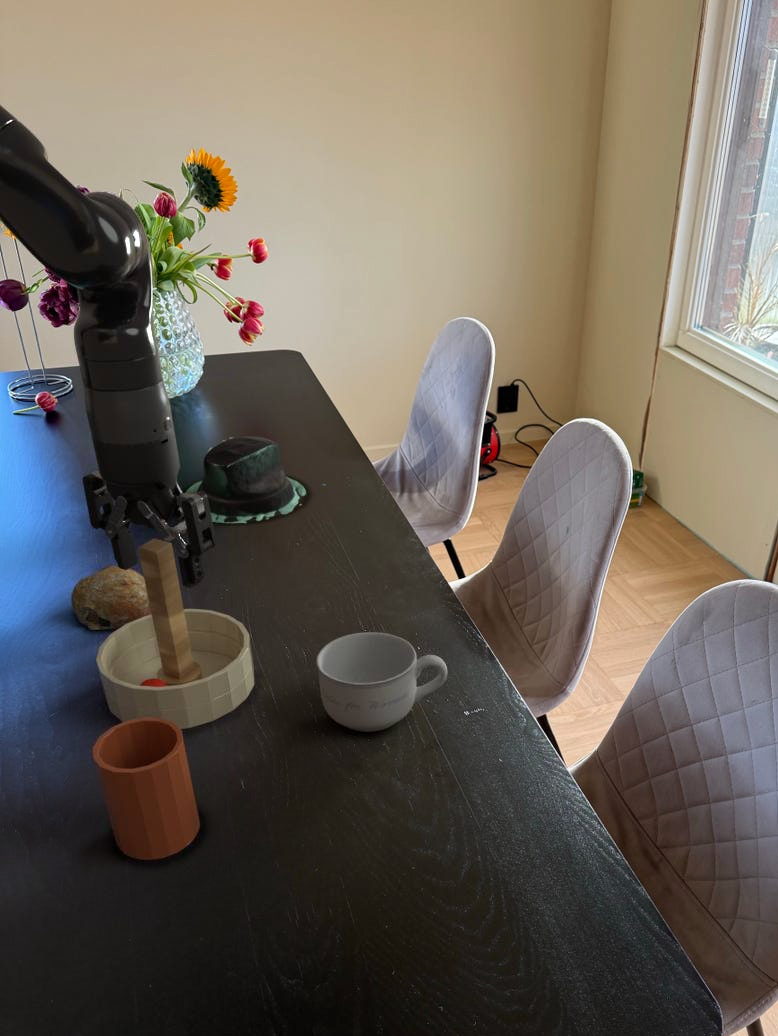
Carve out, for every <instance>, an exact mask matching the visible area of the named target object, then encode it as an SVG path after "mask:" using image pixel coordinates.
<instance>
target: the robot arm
mask: <svg viewBox="0 0 778 1036" xmlns="http://www.w3.org/2000/svg"><path fill="white" fill-rule="evenodd" d="M48 155H49V154H48V152H47V150H46V147H45V145H44V144H43V142H42V141H41V140H40V139H39V138H38V137H37V136H36V135H35V134H34V133H33V132H32V131H31V130H30V129H29V128H28V127H27V126H26V125H25V124H24V123H22V122H21V121H20V120H19V119H17V118H16V116H14V115H13V114H12V113H10V112H9V111H8V110H7V109H6V108H5V107H4V106H2V105H1V104H0V222H1V223H2V224H3V225H4V226H5V228H6V229H7V230H8V231H9V232H10V233H11V234H12V235H13V236H14V237H15V239H17V241H19V243H20V244H21V245H22V246H23V247H24V248H25V249H26V250H27V251H28V252H29V253H30V254H31V255H32V256H33V257H34V258H35V259H36V260H37V261H38V262H39V263H40V264H41V265H42V266H43V267H44V268H46V269H47V270H48V271H49V272H51V273H52V274H53V275H55V276H56V277H57V278H59V279H61V280H62V281H63V282H66V283H68V284H69V285H71V286H73V287H75V288H76V291H77V298H78V306H79V307H78V315H77V318H76V320H75V323H74V327H73V341H74V342H73V343H74V347H75V353H76V357H77V361H78V365H79V370H80V375H81V380H82V385H83V392H84V394H83V395H84V405H85V407H84V408H85V413H86V417H87V422H88V426H89V432H90V436H91V440H92V444H93V450H94V455H95V458H96V463H97V468H98V469H97V470H95V471H93V472H91V473H89V474H86V475H83V477H82V484H83V491H84V496H85V501H86V506H87V513H88V517H89V523H90V525H91V527H92V528H93V529H94V530H99V529H101V530H102V531H104V534H105V535H106V537H108V539H110V544H111V548H112V552H113V557H114V559H115V562H116V563H117V566H118V567H119V568H120V569H124V570H128V569H132V568H133V567H135V566H136V565H137V564H138V562H139V558H138V554H137V549H136V543H135V539H134V534H133V531H130V529H131V528H132V525H136V526H145V527H146V528H148V529H149V530H150V529H151V530H154V531H157V533H158V535H160V537H161V538H162V539H163V541H165V542H169V543H171V544H172V548H174V549H175V551H176V552H177V553H178V555H179V556H178V555H177V559H178V560H177V561H178V567H179V571H180V577H181V583H182V586H183V587H184V588H187V589H193V588H194V587H195V586H197V585H198V584H200V583H201V582H202V580H203V579H204V578H205V577H204V576H205V573H204V567H203V566H204V565H203V559H202V555H203V554H205V553H206V552H208V551H209V550H210V549H213V548H214V547H216V546H217V538H216V533H215V528H214V523H213V522H212V517H211V512H210V507H209V502H208V497H207V495H206V494H205V493H204V492H202V491H200V492H198V493H196V494H194V495H192V494H186V493H185V492H183V491H182V489H181V487H180V486H179V483H178V475H179V471H180V469H181V463H180V456H179V450H178V444H177V438H176V433H175V427H174V421H173V413H172V408H171V407H172V406H171V402H170V398H169V394H168V391H167V389H166V385H165V382H164V376H163V370H162V364H161V358H160V352H159V347H158V341H157V337H156V333H155V328H154V292H153V291H154V289H153V267H152V256H151V255H152V254H151V249H150V244H149V238H148V234H147V232H146V228H145V226H144V224H143V222H142V219H141V218H140V216H139V215H138V213H137V212H136V210H135V209H134V207H132V206H131V205H130V204H129V202H127V201H125V200H124V199H122V198H121V197H119V196H118V195H116V194H114V193H110V192H105V191H90V192H87V193H83V192H82V191H81V190H80V189H78V188H77V187H76V186H75V185H74V184H73V183H72V182H71V181H70V180H69V179H68V178H66V177H65V176H64V175H63V174H62V173H61V172H60V171H59V170H58V169H57V168H56V167H55V166H53V165H52V164H51V163H50V161H49V156H48ZM101 508H102V511H103V512H102V513H101ZM174 519H176V521H177V525H175V526H173V527H171V526H170V525H169V524H170V523H172V522H173V520H174ZM180 534H182V535H183V536H184V538H185V539H186V541H187V542H185V540H184V539H183V538H182V537H181V536H180Z"/></svg>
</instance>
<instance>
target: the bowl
mask: <svg viewBox="0 0 778 1036" xmlns="http://www.w3.org/2000/svg"><path fill="white" fill-rule="evenodd" d="M183 609H184V614H185V620H186V625H187V631H188V636H189V642H190V647H191V653H192V659H193V661H195V662H197V663H198V664H199V665H200V666H201V670H202V676H203V679H201V680H197V681H193V682H190V683H186V684H182V685H174V686H164V687H150V686H139V685H140V684H141V683H142V682H144V681H145V680H148V679H154V678H155V679H158V677H157V673H158V670H159V669H160V668H161V667H162V662H161V658H160V653H159V648H158V643H157V638H156V633H155V628H154V623H153V618H152V614H151V615H147V616H144V617H142V618H139V619H137V620H135V621H132V622H130V623H127V624H125V625H124V626H122V627H121V628H117V629H115V631H113V632H112V633H110V634H108V636H107V637H106V638H105V640H104V641H103V642H102V643H101V644H100V646H98V650H97V655H96V659H95V662H96V666H97V670H98V674H99V678H100V682H101V686H102V690H103V694H104V698H105V701H106V704H107V707H108V709H109V712H110V713H111V714H113V715H114V716H115V717H116V718H117V719H118V720H120V722H121V723H123V722H125V721H128V720H133V719H138V718H143V717H144V718H145V717H149V718H162V719H165V720H168V721H171V722H173V723H175V724H176V725H177V726H178V727H179V728H180V729H181V730H185V729H191V728H195V727H198V726H201V725H205V724H208V723H211V722H214V721H216V720H217V719H219V718H222V717H223V716H225V715H227V714H229V713H231V712H233V711H235V710H236V708H238V707H239V706H240V705H242V704H243V702H245V701H246V700H247V698H248V697H249V695H250V693H251V692H252V690H253V688H254V686H255V667H254V659H253V651H252V645H251V638H250V637H251V636H250V633H249V632H248V630H247V629H246V627H245V625H244V624H243V623H242V622H241V621H239V620H237V619H235V618H234V617H232V616H231V615H228V614H226V613H223V612H219V611H216V610H215V611H214V610H211V609H201V608H199V609H198V608H183Z"/></svg>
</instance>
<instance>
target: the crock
mask: <svg viewBox="0 0 778 1036" xmlns="http://www.w3.org/2000/svg"><path fill="white" fill-rule="evenodd" d="M92 760H93V764H94V767H95V771H96V775H97V778H98V781H99V785H100V789H101V793H102V797H103V801H104V803H105V807H106V811H107V814H108V818H109V822H110V825H111V828H112V833H113V837H114V840H115V844H116V846H117V848H118V849H119V850H120V851H121V852H122V853H123V854H124V855H126V856H128V857H130V858H133V859H136V860H142V861H153V860H159V859H160V860H161V859H164V858H168V857H170V856H172V855H174V854H177V853H179V852H181V851H182V850H184V849H185V848H186V847H188V846H189V845H190V844H191V843H192V842H193V841H194V839H195V838H196V836H198V835H197V834H198V832H199V831H200V830H199V829H200V827H201V821H200V816H199V815H200V814H199V811H198V806H197V800H196V794H195V791H194V785H193V780H192V775H191V770H190V764H189V761H188V760H189V759H188V755H187V750H186V745H185V740H184V736H183V730H182V729H180V728H179V727H178V726H177V725H176V724H175V723H173V722H171V721H168V720H165V719H162V718H149V717H145V718H144V717H143V718H138V719H133V720H128V721H125V722H120V723H118V724H116V725H114V726H112V727H110V728H109V729H107V730H106V731H104V732H103V733H102V734H101V735H100V736H98V738H97V739H96V741H95V742H94V744H93V746H92Z"/></svg>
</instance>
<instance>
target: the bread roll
mask: <svg viewBox="0 0 778 1036" xmlns="http://www.w3.org/2000/svg"><path fill="white" fill-rule="evenodd" d="M70 599H71V608H72V610H73V612H74V614H75V616H76V617H77V619H78V621H79V623H81V624H82V625H84V626H86V627H88V630H90V631H97V630H98V631H102V630H118V629H119V628H121V627H122V626H124V625H125V624H127V623H130V622H132V621H135V620H137V619H139V618H142V617H144V616H147V615H152V614H151V609H150V604H149V599H148V594H147V589H146V584H145V579H144V575H143V574H141V573H140V572H138V571H136V570H134V569H132V568H129V569H128V570H124V569H120V568H119V567H118V565H110V566H106V567H103V568H101V569H100V570H98V571H97V572H96V573H95V572H94V573H92V574H90V575H88V576H86V577H82V578H80V580H79V581H78V582H77V583H76V584H75V585H74V587H73V589H72V593H71V597H70Z"/></svg>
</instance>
